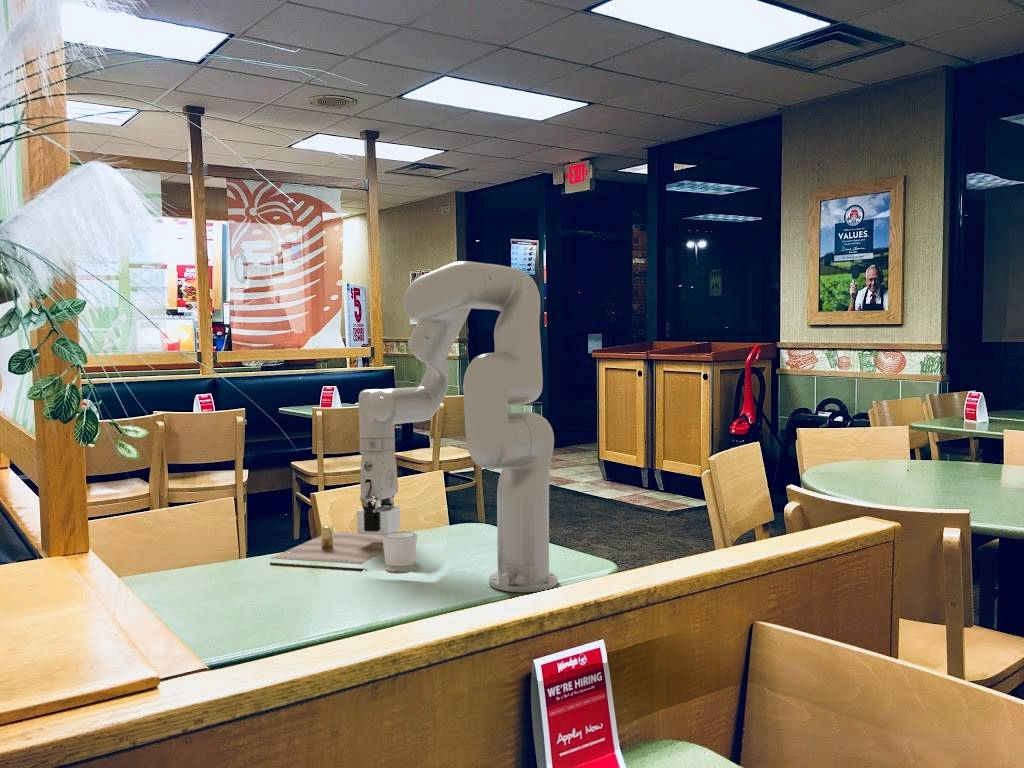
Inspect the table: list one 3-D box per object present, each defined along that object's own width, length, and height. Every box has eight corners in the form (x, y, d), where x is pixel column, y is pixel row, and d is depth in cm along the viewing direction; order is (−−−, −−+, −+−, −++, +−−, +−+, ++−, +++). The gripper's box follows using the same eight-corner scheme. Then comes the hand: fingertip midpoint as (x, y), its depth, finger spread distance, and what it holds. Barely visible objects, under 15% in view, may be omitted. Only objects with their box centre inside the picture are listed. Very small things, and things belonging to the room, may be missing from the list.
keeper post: (329, 549, 167) (329, 528, 167) (319, 548, 168) (319, 527, 168) (334, 546, 170) (334, 525, 170) (324, 546, 170) (324, 525, 170)
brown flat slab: (360, 571, 155) (360, 563, 155) (269, 565, 160) (269, 558, 160) (410, 542, 180) (410, 535, 180) (330, 537, 185) (330, 531, 185)
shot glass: (421, 565, 159) (420, 531, 159) (413, 574, 152) (413, 538, 152) (387, 565, 160) (387, 530, 160) (378, 574, 153) (378, 538, 153)
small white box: (387, 535, 168) (387, 511, 168) (357, 534, 169) (356, 510, 169) (400, 528, 174) (400, 505, 174) (371, 527, 176) (370, 505, 176)
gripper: (376, 449, 162) (378, 536, 163) (408, 442, 179) (410, 520, 179) (343, 449, 164) (345, 535, 164) (377, 442, 181) (379, 519, 181)
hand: (379, 526), depth 172 cm, fingers closed on small white box, 7 cm apart
